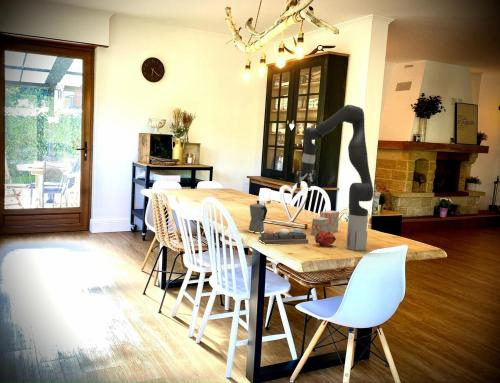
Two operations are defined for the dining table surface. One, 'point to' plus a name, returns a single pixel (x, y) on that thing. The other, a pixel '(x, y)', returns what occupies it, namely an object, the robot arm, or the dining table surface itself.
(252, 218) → the coffeepot
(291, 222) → the dining table surface
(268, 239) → the button board
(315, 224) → the stack of blocks
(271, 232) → the terracotta button
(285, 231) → the cream button
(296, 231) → the slate button
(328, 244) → the dragon fruit
